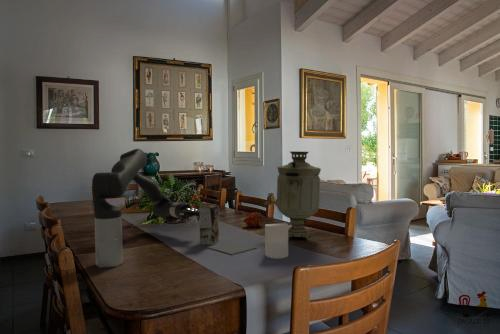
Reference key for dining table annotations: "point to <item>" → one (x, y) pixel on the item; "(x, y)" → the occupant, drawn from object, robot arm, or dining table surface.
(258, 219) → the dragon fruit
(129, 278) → the dining table surface
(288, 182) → the samovar
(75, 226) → the dining table surface
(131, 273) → the dining table surface
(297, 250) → the dining table surface
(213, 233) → the coffee box
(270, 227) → the base with upright slab
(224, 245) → the mat
